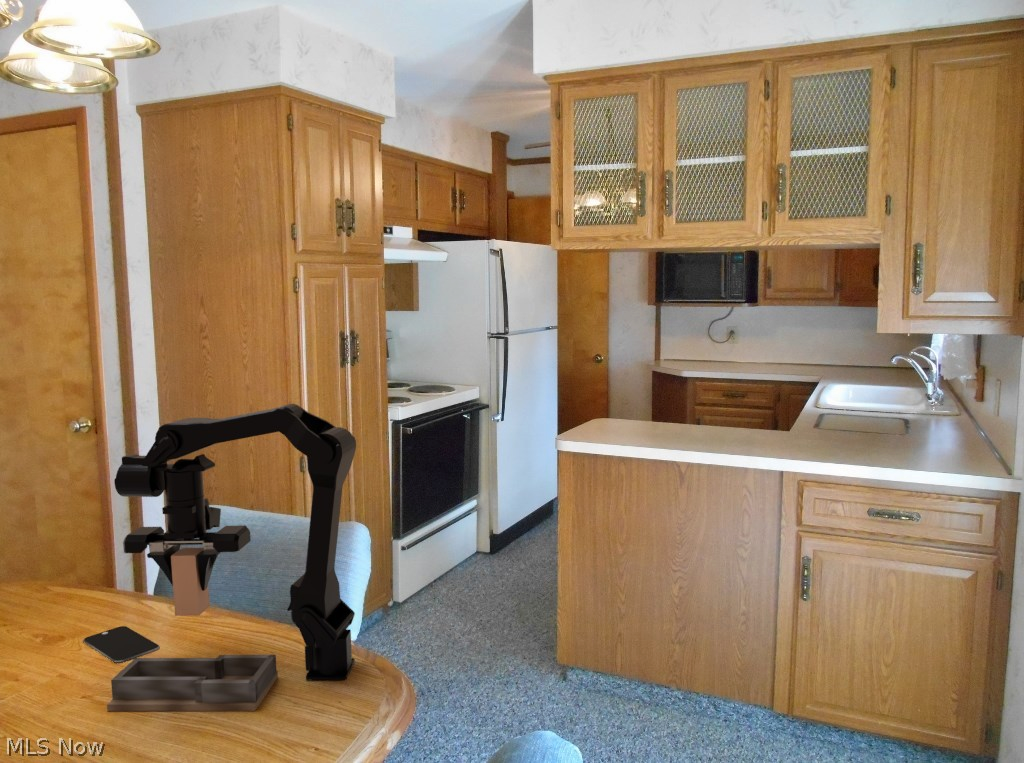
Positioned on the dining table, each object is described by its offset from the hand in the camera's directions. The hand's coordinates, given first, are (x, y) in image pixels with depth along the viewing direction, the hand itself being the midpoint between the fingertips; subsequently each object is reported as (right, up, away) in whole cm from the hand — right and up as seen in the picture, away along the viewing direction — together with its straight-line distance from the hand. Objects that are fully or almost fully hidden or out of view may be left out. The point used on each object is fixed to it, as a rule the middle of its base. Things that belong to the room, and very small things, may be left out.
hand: (191, 589), depth 125 cm
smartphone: (-16, -13, +9) cm, 23 cm away
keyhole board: (+4, -14, -8) cm, 16 cm away
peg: (0, -4, 0) cm, 4 cm away
